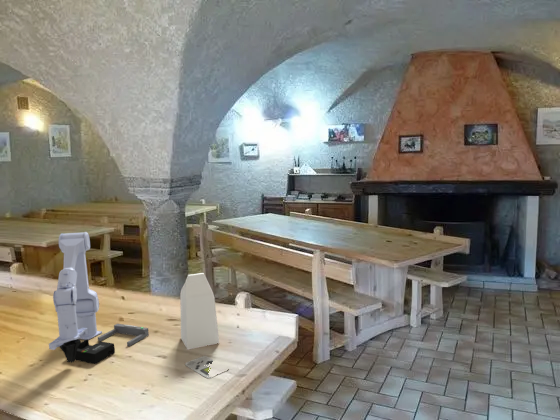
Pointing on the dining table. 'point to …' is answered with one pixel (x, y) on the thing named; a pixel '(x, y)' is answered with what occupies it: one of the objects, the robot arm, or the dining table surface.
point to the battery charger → (94, 351)
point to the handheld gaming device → (200, 365)
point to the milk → (198, 313)
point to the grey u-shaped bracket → (129, 330)
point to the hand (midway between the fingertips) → (71, 361)
